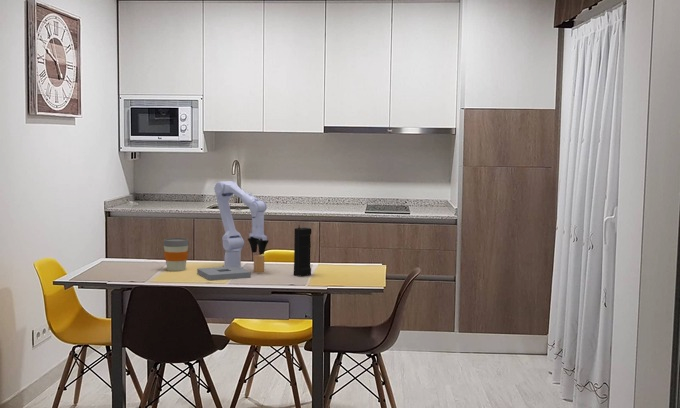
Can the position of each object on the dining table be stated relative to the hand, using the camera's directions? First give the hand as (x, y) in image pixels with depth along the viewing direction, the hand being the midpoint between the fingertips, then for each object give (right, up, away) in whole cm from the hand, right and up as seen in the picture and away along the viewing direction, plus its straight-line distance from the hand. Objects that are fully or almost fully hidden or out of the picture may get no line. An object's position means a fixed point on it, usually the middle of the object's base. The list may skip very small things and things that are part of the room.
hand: (257, 253), depth 388 cm
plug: (0, -9, +3) cm, 10 cm away
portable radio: (+22, -10, -5) cm, 25 cm away
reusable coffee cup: (-41, -9, +8) cm, 43 cm away
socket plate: (-15, -10, -8) cm, 20 cm away
